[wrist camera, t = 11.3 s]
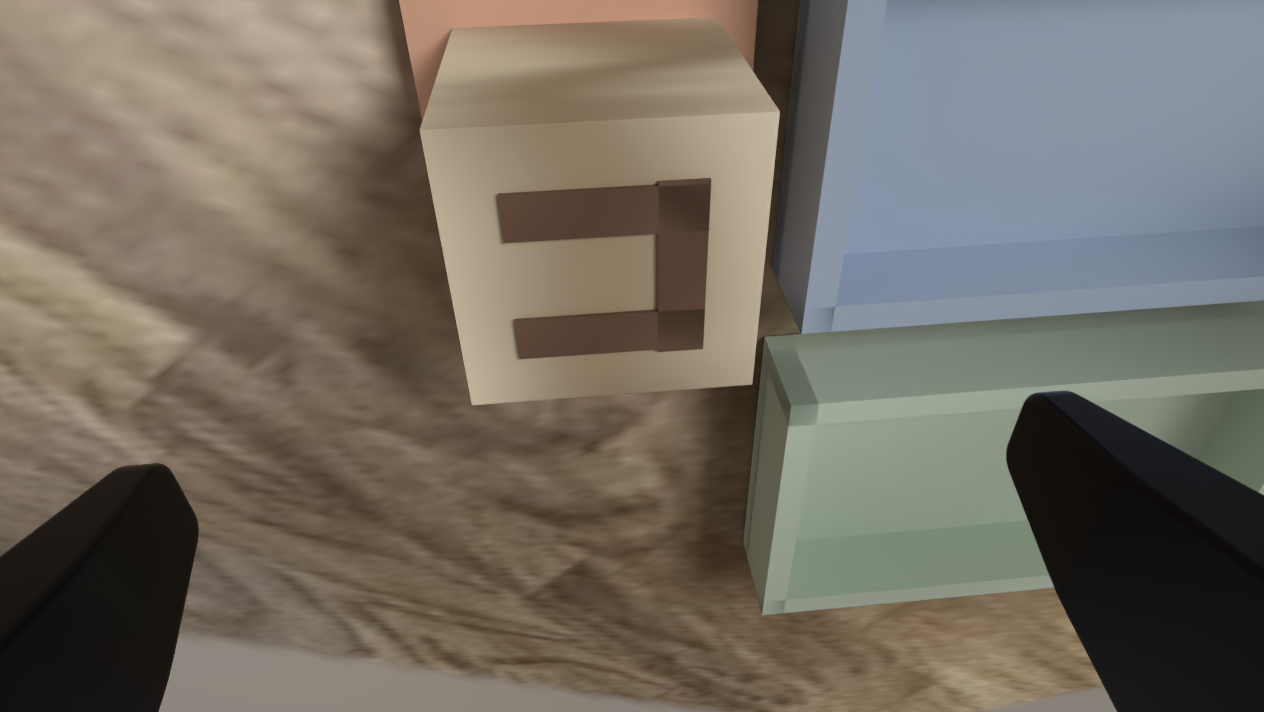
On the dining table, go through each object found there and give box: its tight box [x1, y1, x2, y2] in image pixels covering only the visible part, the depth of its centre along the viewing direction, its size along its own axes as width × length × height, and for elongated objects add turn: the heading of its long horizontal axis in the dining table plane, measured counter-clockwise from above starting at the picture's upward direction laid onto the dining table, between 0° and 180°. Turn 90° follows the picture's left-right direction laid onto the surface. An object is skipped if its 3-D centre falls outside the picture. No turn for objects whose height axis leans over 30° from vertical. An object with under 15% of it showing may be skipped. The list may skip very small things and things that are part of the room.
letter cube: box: [420, 17, 780, 405], centre depth 13 cm, size 4×4×5 cm
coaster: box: [399, 0, 758, 121], centre depth 15 cm, size 6×6×1 cm
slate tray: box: [772, 0, 1264, 334], centre depth 14 cm, size 13×8×2 cm, turn 91°
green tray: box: [743, 300, 1264, 615], centre depth 20 cm, size 13×8×2 cm, turn 91°
